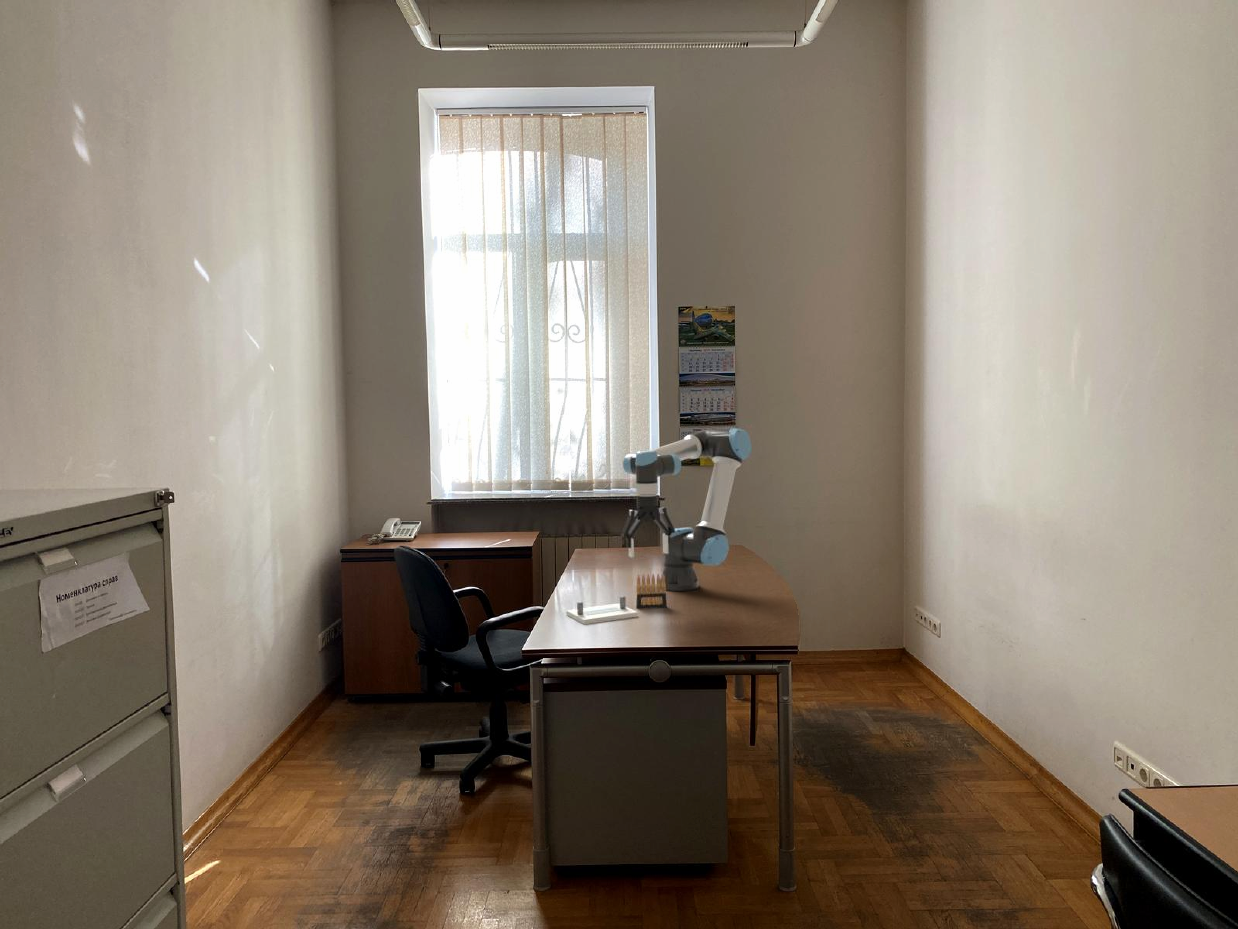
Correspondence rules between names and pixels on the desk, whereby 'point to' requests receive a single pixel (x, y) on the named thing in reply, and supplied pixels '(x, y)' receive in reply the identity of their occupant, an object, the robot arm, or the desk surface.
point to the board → (602, 612)
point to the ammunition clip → (651, 593)
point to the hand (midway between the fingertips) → (648, 555)
